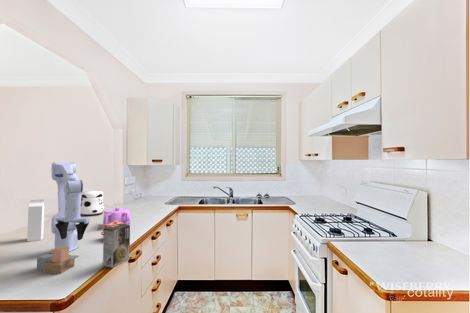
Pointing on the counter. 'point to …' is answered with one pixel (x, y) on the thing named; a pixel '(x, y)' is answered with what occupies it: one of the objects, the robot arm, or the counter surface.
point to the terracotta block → (60, 254)
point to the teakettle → (117, 216)
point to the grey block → (43, 261)
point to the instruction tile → (73, 256)
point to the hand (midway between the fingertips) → (71, 239)
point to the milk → (35, 220)
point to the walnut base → (59, 266)
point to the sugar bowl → (110, 225)
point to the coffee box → (116, 245)
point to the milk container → (92, 203)
